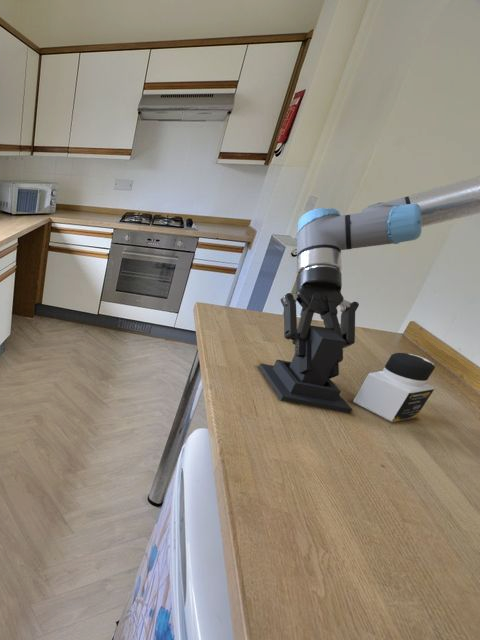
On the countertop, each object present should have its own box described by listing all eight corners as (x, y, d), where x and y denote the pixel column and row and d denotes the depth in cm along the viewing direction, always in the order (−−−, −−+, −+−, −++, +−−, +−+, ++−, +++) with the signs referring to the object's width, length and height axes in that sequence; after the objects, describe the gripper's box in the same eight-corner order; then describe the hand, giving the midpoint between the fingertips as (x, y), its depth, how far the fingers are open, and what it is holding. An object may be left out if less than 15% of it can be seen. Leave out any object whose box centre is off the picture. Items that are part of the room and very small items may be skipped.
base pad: (317, 377, 94) (324, 363, 92) (350, 413, 81) (358, 398, 79) (258, 366, 97) (263, 353, 95) (280, 400, 84) (287, 386, 82)
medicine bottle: (392, 422, 78) (425, 368, 73) (351, 402, 85) (380, 350, 79) (416, 418, 80) (451, 365, 75) (375, 397, 86) (404, 347, 81)
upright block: (308, 373, 90) (330, 328, 85) (322, 389, 84) (346, 341, 79) (287, 369, 91) (308, 324, 86) (299, 385, 85) (322, 338, 80)
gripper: (352, 287, 91) (355, 387, 84) (266, 277, 96) (262, 371, 89) (377, 270, 84) (383, 377, 77) (282, 260, 89) (280, 360, 82)
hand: (318, 373), depth 83 cm, fingers closed on upright block, 4 cm apart
